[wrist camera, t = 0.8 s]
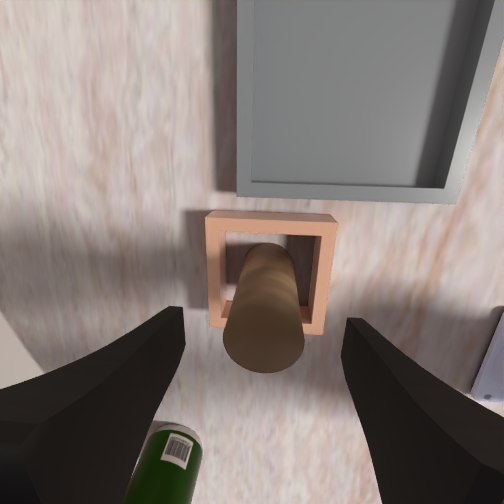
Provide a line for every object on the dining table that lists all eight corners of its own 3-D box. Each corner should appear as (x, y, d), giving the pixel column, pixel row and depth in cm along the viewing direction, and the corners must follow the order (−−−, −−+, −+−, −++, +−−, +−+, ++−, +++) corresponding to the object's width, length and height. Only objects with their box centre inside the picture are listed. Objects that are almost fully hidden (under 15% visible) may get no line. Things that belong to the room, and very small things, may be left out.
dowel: (294, 243, 18) (308, 308, 10) (291, 289, 19) (300, 376, 11) (244, 241, 18) (222, 303, 11) (244, 286, 19) (223, 369, 12)
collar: (330, 214, 17) (338, 222, 15) (317, 316, 20) (322, 335, 17) (213, 210, 17) (204, 217, 15) (216, 309, 20) (209, 327, 18)
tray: (507, -70, 12) (545, -107, 10) (436, 199, 16) (455, 204, 14) (242, -60, 13) (237, -93, 11) (240, 192, 17) (236, 196, 15)
